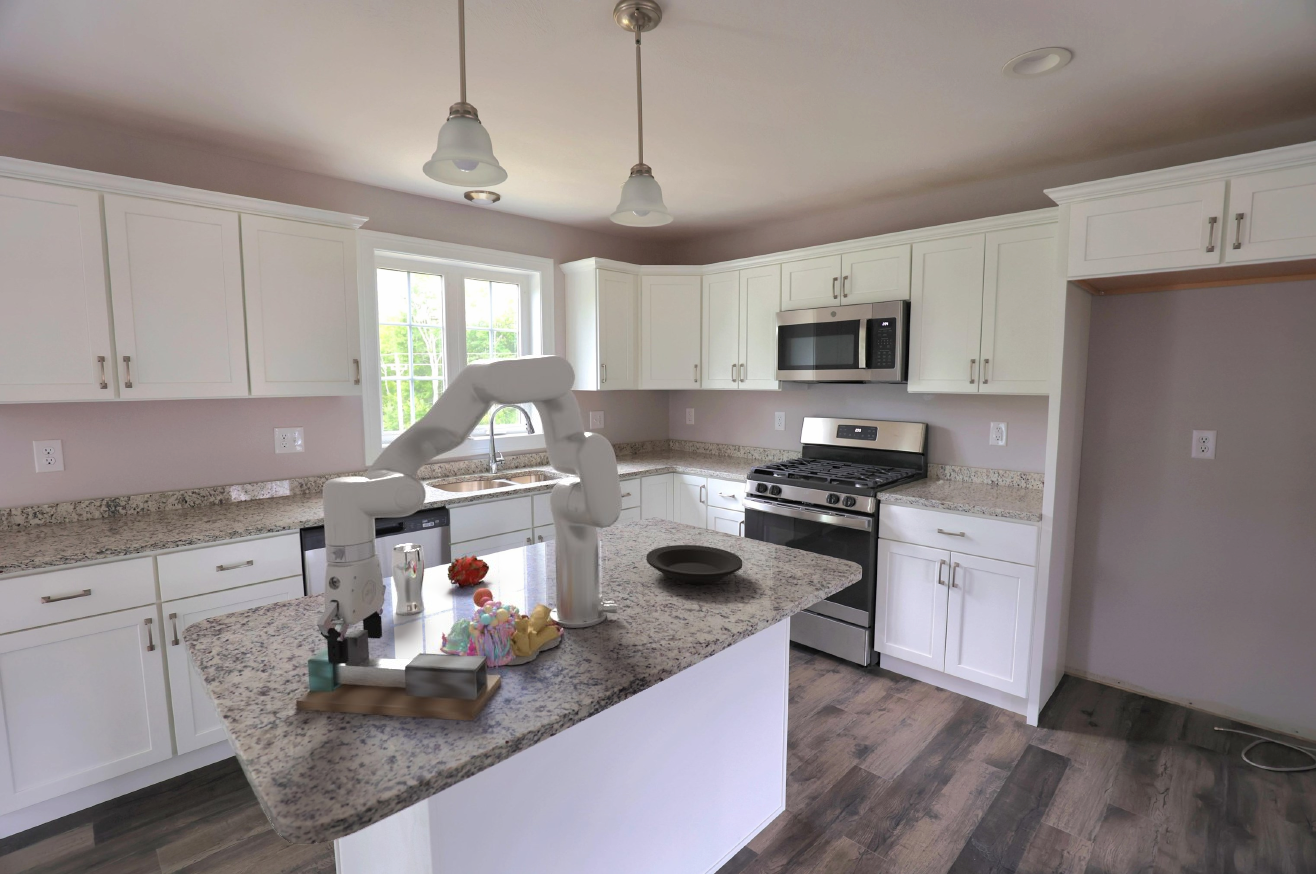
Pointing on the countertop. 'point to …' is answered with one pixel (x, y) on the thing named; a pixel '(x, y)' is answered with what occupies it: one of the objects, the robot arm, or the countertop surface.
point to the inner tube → (368, 665)
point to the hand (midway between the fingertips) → (356, 649)
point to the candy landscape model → (502, 632)
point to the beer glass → (408, 577)
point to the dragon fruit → (467, 571)
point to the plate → (694, 563)
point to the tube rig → (407, 689)
